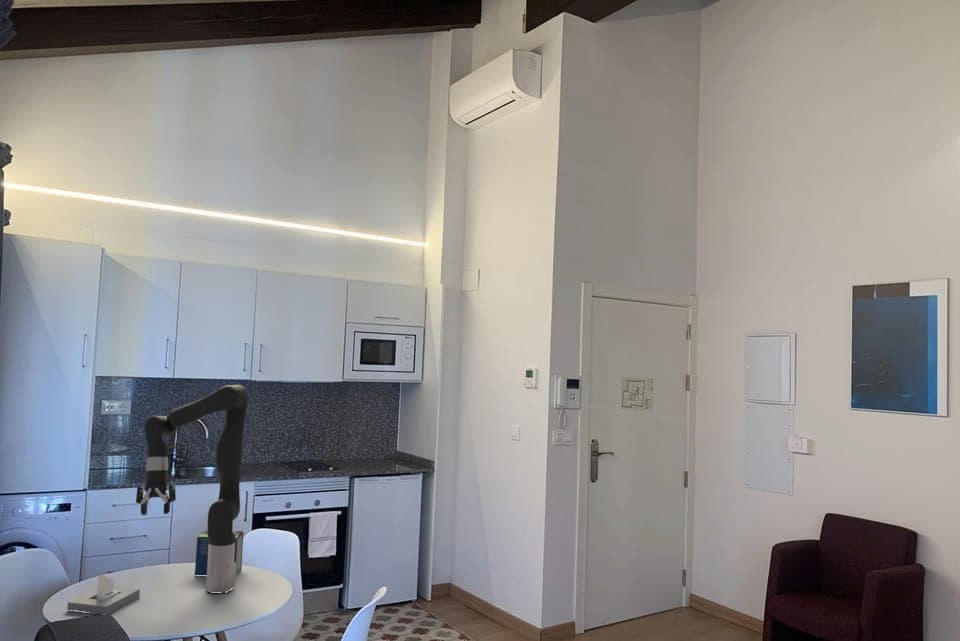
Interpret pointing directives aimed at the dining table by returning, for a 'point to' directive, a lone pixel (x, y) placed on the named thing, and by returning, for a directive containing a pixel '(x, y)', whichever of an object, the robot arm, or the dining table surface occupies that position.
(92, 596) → the socket plate
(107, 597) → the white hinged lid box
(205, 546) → the protein box
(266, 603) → the dining table surface
